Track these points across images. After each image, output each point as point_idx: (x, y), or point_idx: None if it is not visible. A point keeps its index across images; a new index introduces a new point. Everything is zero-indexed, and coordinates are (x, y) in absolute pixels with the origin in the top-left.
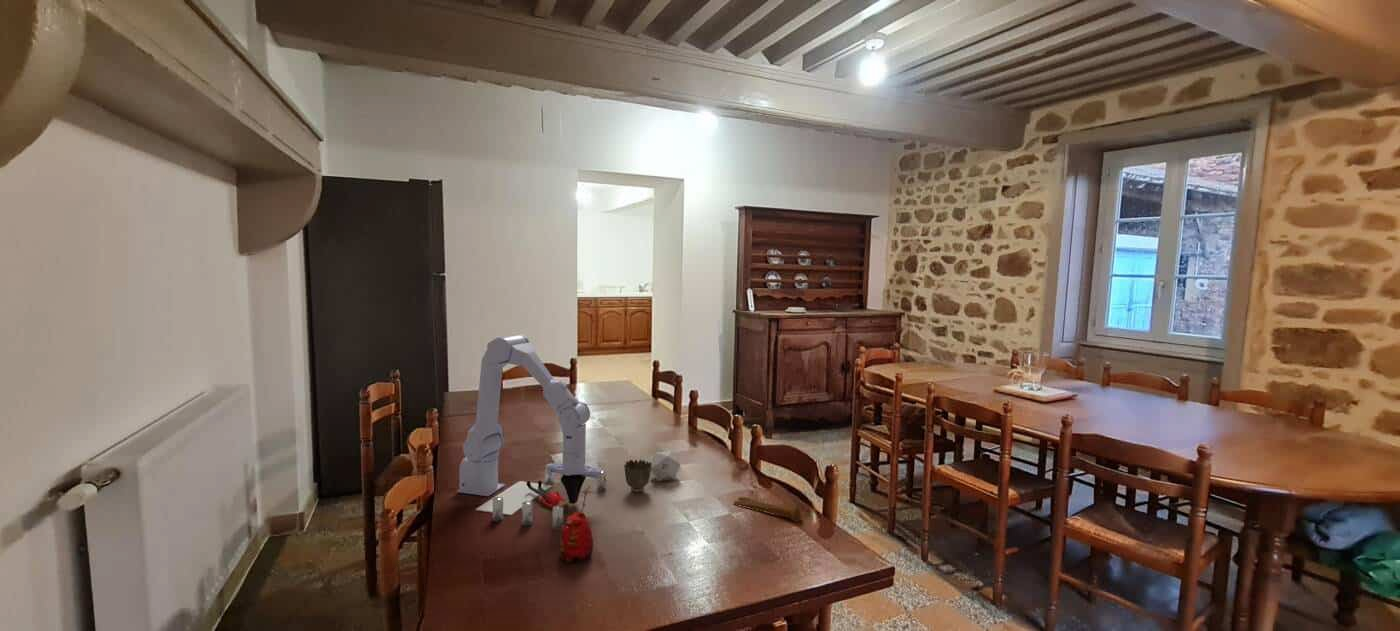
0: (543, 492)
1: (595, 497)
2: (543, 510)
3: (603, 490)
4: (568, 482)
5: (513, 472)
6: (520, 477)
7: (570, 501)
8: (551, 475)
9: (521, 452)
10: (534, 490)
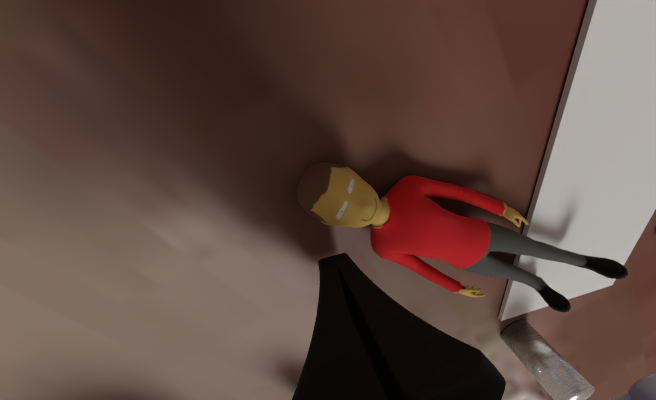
0: (516, 249)
1: (297, 351)
2: (441, 144)
3: None
4: (394, 372)
5: (633, 311)
6: (609, 303)
7: (341, 260)
8: (531, 357)
9: (625, 378)
10: (559, 249)
